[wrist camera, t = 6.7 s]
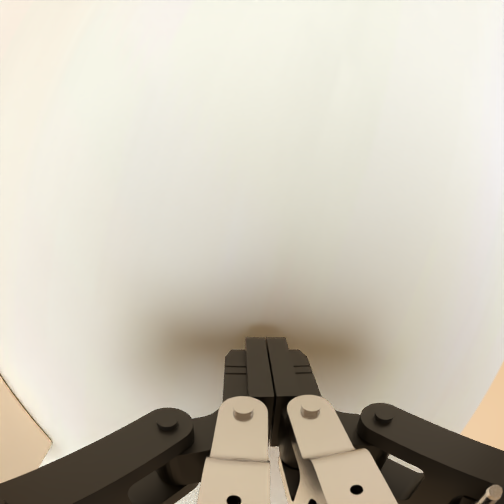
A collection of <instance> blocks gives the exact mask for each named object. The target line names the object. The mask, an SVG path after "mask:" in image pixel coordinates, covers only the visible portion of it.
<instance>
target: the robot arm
mask: <svg viewBox="0 0 504 504" xmlns="http://www.w3.org/2000/svg"><path fill="white" fill-rule="evenodd" d="M269 439H270V446H279V452H280V455H279V461H278V465H279V469H280V473H281V477H282V481H283V485H284V489H285V493H286V497H287V501H288V504H504V451H502V450H500V449H497V448H494V447H491V446H488V445H486V444H483V443H480V442H477V441H475V440H472V439H470V438H467V437H465V436H462V435H460V434H457V433H455V432H452V431H450V430H447V429H445V428H442V427H440V426H438V425H435V424H433V423H431V422H428V421H426V420H424V419H421V418H419V417H417V416H415V415H412V414H410V413H408V412H406V411H403V410H401V409H399V408H397V407H395V406H392V405H389V404H385V403H375V404H371V405H369V406H367V407H365V408H364V409H363V410H362V412H361V415H359V414H349V413H342V412H339V411H336V410H334V408H333V406H332V404H331V403H330V402H329V401H328V400H326V399H324V398H322V397H321V395H320V392H319V389H318V386H317V384H316V381H315V378H314V375H313V374H312V370H311V367H310V364H309V361H308V359H307V357H306V356H305V355H304V354H303V353H302V352H301V351H300V350H289V349H288V345H287V342H286V338H285V337H278V338H270V337H266V339H265V338H259V337H246V339H245V350H231V351H230V352H229V353H228V355H227V356H226V357H225V372H224V389H223V402H222V404H221V405H220V407H219V409H218V410H217V411H216V412H214V413H213V414H211V415H208V416H205V417H200V418H194V419H191V417H190V416H189V415H188V414H187V413H186V412H184V411H182V410H179V409H176V408H161V409H157V410H154V411H152V412H150V413H148V414H147V415H145V416H143V417H141V418H139V419H138V420H136V421H134V422H132V423H130V424H128V425H127V426H125V427H123V428H121V429H119V430H117V431H115V432H113V433H112V434H110V435H108V436H106V437H104V438H102V439H100V440H98V441H96V442H94V443H92V444H90V445H88V446H86V447H84V448H82V449H80V450H78V451H75V452H73V453H71V454H69V455H67V456H65V457H63V458H60V459H58V460H56V461H54V462H52V463H49V464H47V465H45V466H42V467H40V468H38V469H35V470H33V471H31V472H28V473H26V474H23V475H21V476H18V477H16V478H13V479H11V480H8V481H5V482H3V483H0V504H174V503H176V502H177V501H179V500H180V499H181V498H183V497H184V496H185V495H187V494H188V493H189V492H191V491H192V490H193V489H194V488H195V487H197V485H198V484H199V482H201V484H200V489H199V494H198V499H197V504H270V461H268V447H269ZM389 454H391V455H393V456H395V457H397V458H399V459H401V460H403V461H405V462H407V463H409V464H412V465H414V466H416V467H418V468H420V469H421V470H422V471H423V472H424V473H417V472H415V471H413V470H411V469H409V468H406V467H404V466H402V465H400V464H398V463H396V462H394V461H392V460H390V459H388V456H389Z"/></svg>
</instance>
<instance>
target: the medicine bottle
mask: <svg viewBox="0 0 504 504" xmlns="http://www.w3.org/2000/svg"><path fill="white" fill-rule="evenodd" d="M51 444H52V442H51V440H50V439H49V438H48V437H47V435H46V434H45V433H44V432H43V431H42V430H41V429H40V427H39V426H38V425H37V424H36V423H35V422H34V420H33V419H32V418H31V417H30V415H29V414H28V413H27V412H26V410H25V409H24V408H23V407H22V405H21V404H20V403H19V401H18V400H17V399H16V397H15V396H14V395H13V393H12V392H11V391H10V389H9V388H8V386H7V385H6V383H5V382H4V380H3V379H2V378H1V376H0V483H3V482H5V481H8V480H11V479H13V478H16V477H18V476H21V475H23V474H26V473H28V472H31V471H33V470H35V469H38V468H39V466H40V464H41V463H42V461H43V459H44V457H45V455H46V454H47V452H48V450H49V448H50V447H51Z"/></svg>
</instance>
